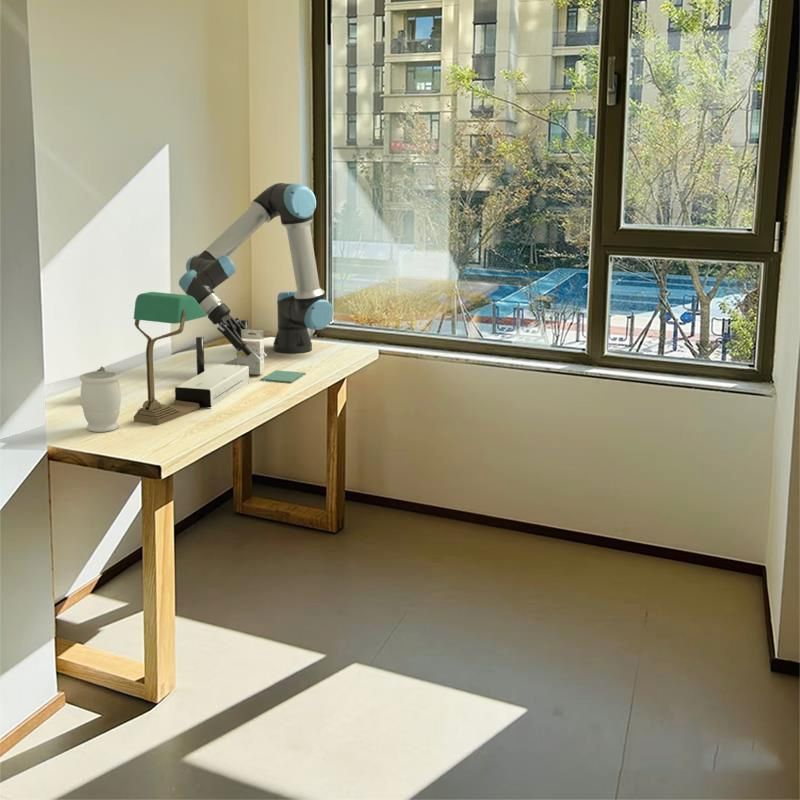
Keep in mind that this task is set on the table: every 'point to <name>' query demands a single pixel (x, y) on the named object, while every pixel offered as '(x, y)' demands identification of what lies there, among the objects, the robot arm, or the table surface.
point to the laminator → (213, 385)
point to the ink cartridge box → (257, 346)
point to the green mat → (283, 376)
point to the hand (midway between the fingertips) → (260, 359)
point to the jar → (100, 400)
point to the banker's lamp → (165, 311)
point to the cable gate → (201, 352)
